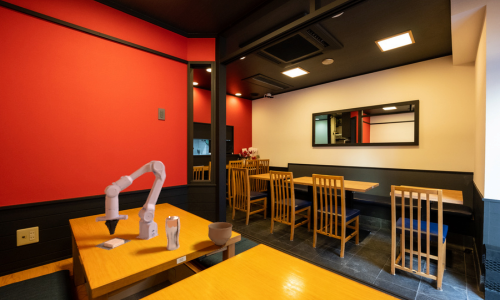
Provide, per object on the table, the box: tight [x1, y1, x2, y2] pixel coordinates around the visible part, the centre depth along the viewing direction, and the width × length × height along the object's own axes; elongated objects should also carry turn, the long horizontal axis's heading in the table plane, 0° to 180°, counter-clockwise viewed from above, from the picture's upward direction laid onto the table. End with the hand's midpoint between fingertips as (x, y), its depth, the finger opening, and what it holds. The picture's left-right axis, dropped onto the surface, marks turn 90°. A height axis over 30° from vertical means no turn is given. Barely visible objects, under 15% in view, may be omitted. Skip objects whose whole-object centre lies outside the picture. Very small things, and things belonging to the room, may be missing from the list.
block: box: [104, 237, 124, 249], centre depth 110 cm, size 2×6×7 cm
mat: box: [94, 237, 132, 251], centre depth 112 cm, size 12×12×1 cm
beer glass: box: [164, 215, 181, 251], centre depth 107 cm, size 7×7×15 cm
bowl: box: [207, 221, 233, 246], centre depth 110 cm, size 13×13×10 cm
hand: (112, 233), depth 110 cm, fingers closed
